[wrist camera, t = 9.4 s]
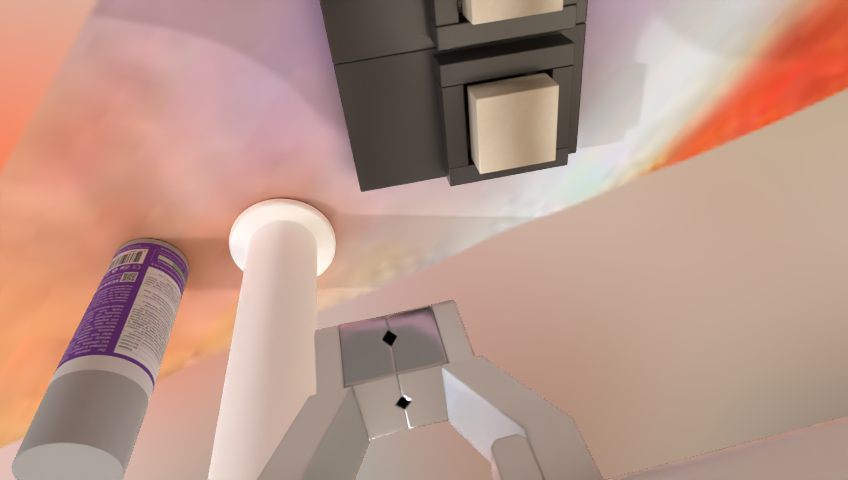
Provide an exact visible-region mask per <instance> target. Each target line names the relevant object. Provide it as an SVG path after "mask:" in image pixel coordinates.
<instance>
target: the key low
mask: <svg viewBox="0 0 848 480" xmlns="http://www.w3.org/2000/svg"><path fill="white" fill-rule="evenodd" d="M467 93H468V109H469V126H470V142H471V158H472V159H473V161H474V163H475V165H476V167H477V169H478V171H479V173H480V174H484V173H489V172H495V171H500V170H506V169H511V168H516V167H522V166H527V165H533V164H538V163H543V162H549V161H554V160H555V158H556V138H557V118H558V98H559V85H558V84H557V83H556V82H555V81H554V80H553V79H552V78H551V77H549V76H548V75H547V74H546V73H540V74H534V75H528V76H522V77H517V78H511V79H505V80H499V81H493V82H488V83H482V84H476V85H470V86H467Z"/></svg>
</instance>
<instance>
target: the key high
mask: <svg viewBox="0 0 848 480" xmlns="http://www.w3.org/2000/svg"><path fill="white" fill-rule="evenodd" d="M462 10H463V15H464V16H465V17H466V18H467V19H468V20H469V21H470V22H471V23H472V24H473V25H475V24H482V23H488V22H494V21H500V20H506V19H512V18H518V17H524V16H530V15H536V14H543V13H549V12H555V11H561V10H563V0H462Z"/></svg>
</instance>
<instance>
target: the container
mask: <svg viewBox="0 0 848 480" xmlns="http://www.w3.org/2000/svg"><path fill="white" fill-rule="evenodd" d="M188 274H189V265H188V262H187V259H186V258H185V256H184V255H183V254H182V253H181V252H180V251H179V250H178V249H177V248H176V247H174V246H172V245H171V244H169V243H166V242H164V241H160V240H156V239H137V240H133V241H130V242H127V243H126V244H124V245H123V246H121V247H120V248H119V249H118V251H117V252H116V254H115V256H114V258H113V260H112V261H111V263H110V265H109V267H108V269H107V271H106V273H105V275H104V277H103V279H102V281H101V283H100V285H99V287H98V289H97V291H96V293H95V295H94V297H93V299H92V301H91V303H90V305H89V306H88V308H87V310H86V312H85V314H84V316H83V318H82V320H81V322H80V324H79V326H78V328H77V330H76V332H75V334H74V336H73V338H72V340H71V342H70V344H69V346H68V348H67V350H66V351H65V353H64V355H63V357H62V359H61V361H60V363H59V365H58V367H57V369H56V371H55V373H54V376H53V378H52V380H51V382H50V384H49V386H48V389H47V391H46V393H45V395H44V397H43V399H42V401H41V404H40V406H39V408H38V410H37V412H36V414H35V416H34V419H33V421H32V423H31V425H30V427H29V429H28V431H27V433H26V436H25V438H24V440H23V442H22V444H21V446H20V449H19V451H18V453H17V455H16V457H15V459H14V461H13V464H12V472H13V475H14V476H15V478H16V479H17V480H122V479H123V477H124V474H125V471H126V468H127V466H128V463H129V459H130V457H131V454H132V451H133V448H134V445H135V442H136V439H137V436H138V433H139V430H140V428H141V425H142V422H143V419H144V416H145V413H146V410H147V407H148V404H149V401H150V398H151V395H152V392H153V390H154V386H155V383H156V380H157V377H158V373H159V370H160V367H161V363H162V360H163V357H164V353H165V350H166V347H167V344H168V340H169V337H170V334H171V330H172V327H173V324H174V321H175V317H176V314H177V311H178V307H179V304H180V301H181V298H182V294H183V291H184V288H185V284H186V281H187V277H188Z"/></svg>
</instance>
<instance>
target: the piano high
mask: <svg viewBox="0 0 848 480" xmlns="http://www.w3.org/2000/svg"><path fill="white" fill-rule="evenodd" d="M587 3H588V0H563V10H561V11H555V12H549V13H543V14H536V15H530V16H524V17H518V18H512V19H506V20H500V21H494V22H488V23H482V24H475V25H473V24H472V23H471V22H470V21H469V20H468V19H467V18H466V17H465V16H464V15H463V10H462V0H320V5H321V9H322V14H323V19H324V23H325V28H326V32H327V37H328V42H329V46H330V51H331V56H332V60H333V63H334V64H339V63H345V62H351V61H357V60H363V59H369V58H375V57H381V56H387V55H393V54H399V53H405V52H411V51H417V50H423V49H429V48H435V47H436V48H437V49H438V51H442V50H448V49H454V48H460V47H466V46H472V45H478V44H484V43H490V42H496V41H502V40H508V39H514V38H520V37H526V36H532V35H538V34H544V33H550V32H556V31H562V30H568V29H574V28H576V24H579V23H585V22H586V16H587Z"/></svg>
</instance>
